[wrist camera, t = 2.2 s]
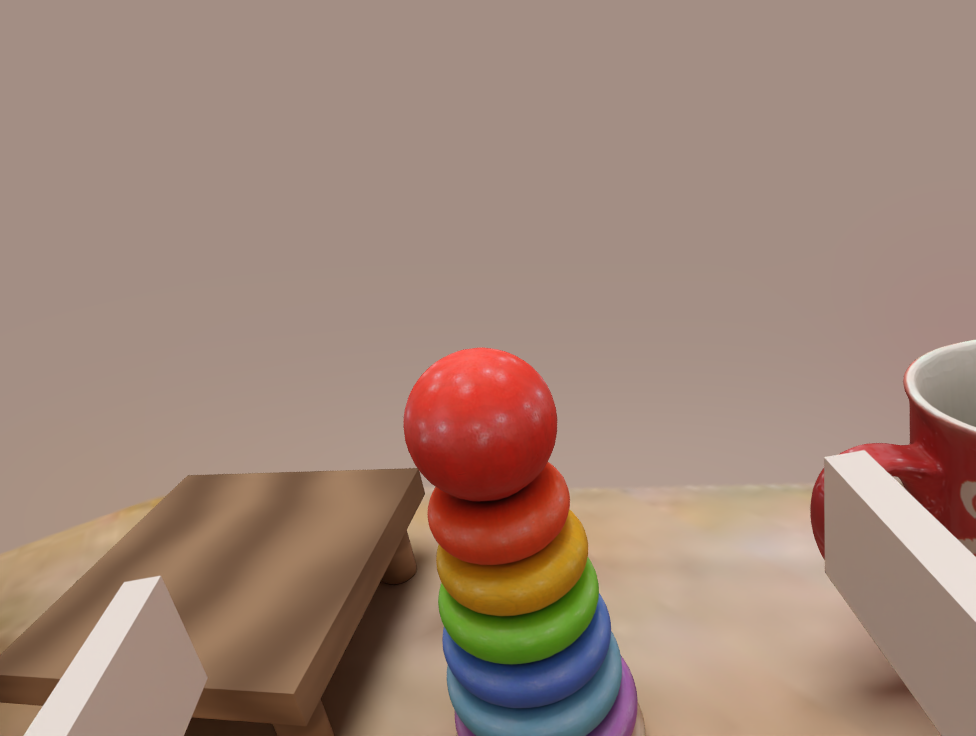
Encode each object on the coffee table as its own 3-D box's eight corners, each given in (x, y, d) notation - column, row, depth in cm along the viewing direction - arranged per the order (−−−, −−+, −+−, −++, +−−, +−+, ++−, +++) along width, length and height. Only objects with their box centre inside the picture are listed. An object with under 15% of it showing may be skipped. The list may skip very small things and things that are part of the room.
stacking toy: (444, 709, 34) (340, 342, 26) (602, 653, 35) (546, 288, 28) (486, 876, 27) (360, 437, 19) (683, 798, 28) (637, 359, 20)
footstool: (37, 764, 35) (-20, 673, 33) (217, 549, 49) (187, 475, 47) (333, 795, 31) (293, 693, 28) (439, 550, 45) (418, 468, 42)
